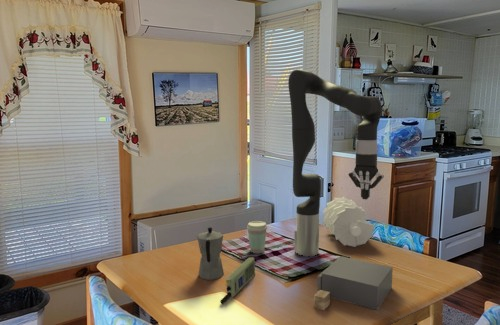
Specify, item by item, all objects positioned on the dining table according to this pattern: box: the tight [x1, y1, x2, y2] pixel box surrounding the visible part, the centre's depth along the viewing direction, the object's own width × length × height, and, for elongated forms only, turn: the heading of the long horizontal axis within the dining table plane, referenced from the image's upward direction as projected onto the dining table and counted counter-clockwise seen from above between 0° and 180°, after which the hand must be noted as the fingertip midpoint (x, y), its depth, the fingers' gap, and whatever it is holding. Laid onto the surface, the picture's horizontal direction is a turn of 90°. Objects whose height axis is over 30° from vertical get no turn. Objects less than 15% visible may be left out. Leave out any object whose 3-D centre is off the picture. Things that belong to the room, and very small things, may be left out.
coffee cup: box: [246, 220, 268, 254], centre depth 172 cm, size 8×8×12 cm
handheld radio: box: [219, 256, 256, 305], centre depth 138 cm, size 7×3×25 cm
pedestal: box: [313, 290, 331, 311], centre depth 125 cm, size 3×4×4 cm
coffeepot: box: [196, 226, 225, 281], centre depth 147 cm, size 15×9×18 cm, turn 179°
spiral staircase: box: [322, 196, 376, 248], centre depth 184 cm, size 18×18×25 cm
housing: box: [321, 256, 393, 311], centre depth 134 cm, size 18×17×8 cm
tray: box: [317, 257, 340, 292], centre depth 135 cm, size 18×18×5 cm
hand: (365, 198), depth 150 cm, fingers closed
